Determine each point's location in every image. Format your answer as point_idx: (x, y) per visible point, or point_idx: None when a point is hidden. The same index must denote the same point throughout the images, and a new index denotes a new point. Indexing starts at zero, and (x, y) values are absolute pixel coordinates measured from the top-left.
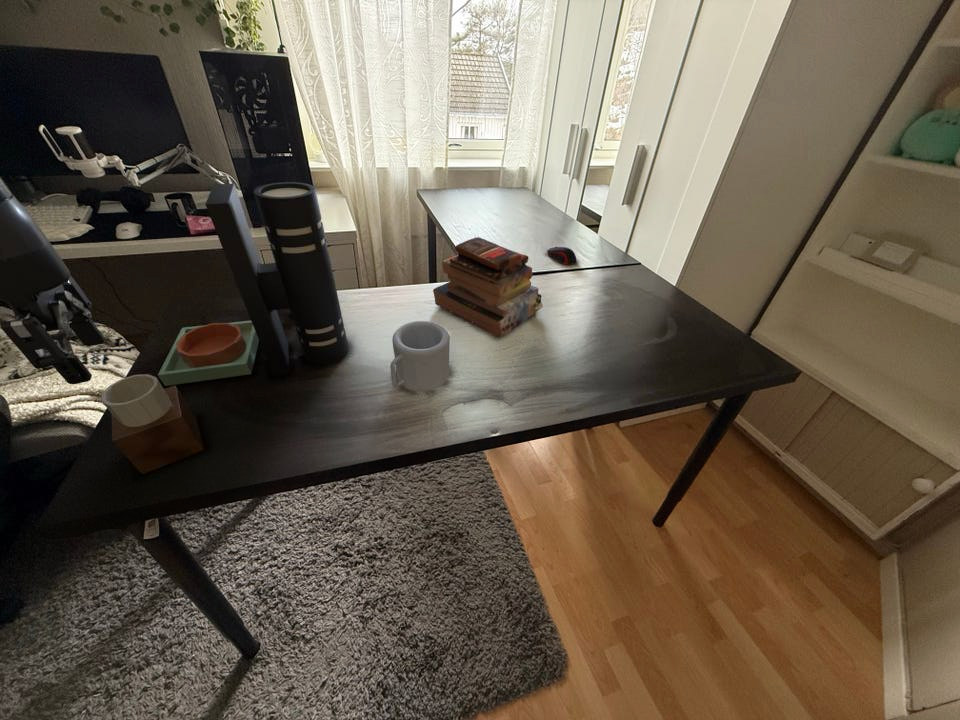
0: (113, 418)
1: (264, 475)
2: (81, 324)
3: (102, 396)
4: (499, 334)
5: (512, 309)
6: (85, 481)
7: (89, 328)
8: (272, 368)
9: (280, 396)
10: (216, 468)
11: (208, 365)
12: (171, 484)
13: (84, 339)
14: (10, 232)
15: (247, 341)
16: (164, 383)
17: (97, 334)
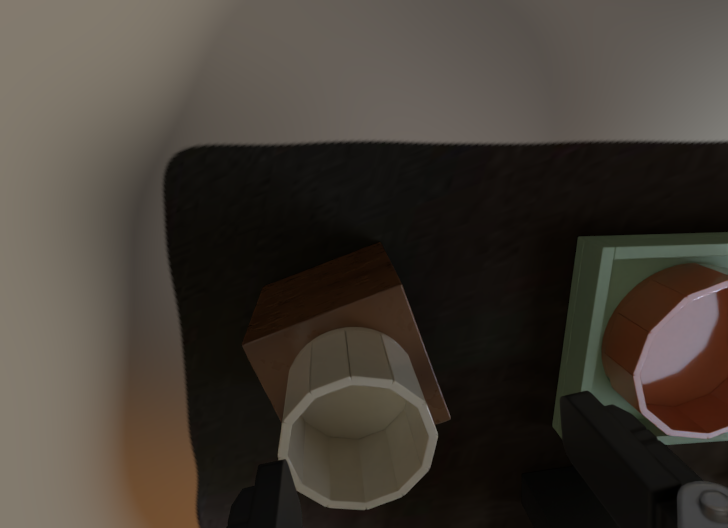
0: (338, 312)
1: (215, 507)
2: (644, 525)
3: (336, 384)
4: None
5: None
6: (267, 169)
7: (621, 511)
8: (534, 500)
9: (445, 497)
10: (251, 422)
11: (609, 349)
12: (223, 351)
13: (581, 430)
14: None
15: None
16: (582, 242)
17: (594, 489)
